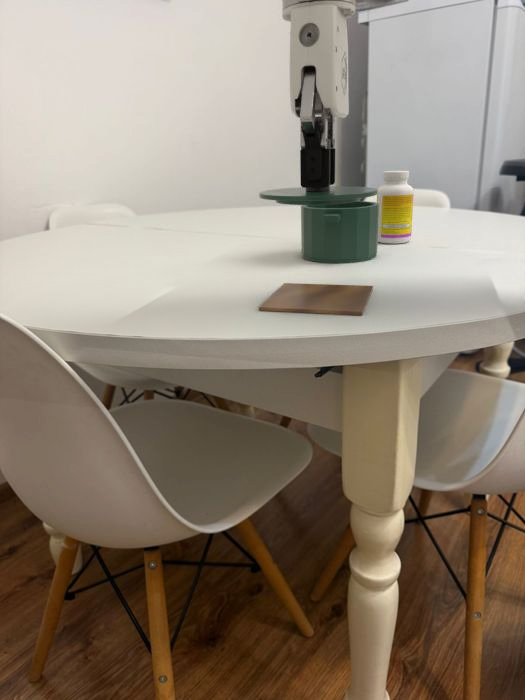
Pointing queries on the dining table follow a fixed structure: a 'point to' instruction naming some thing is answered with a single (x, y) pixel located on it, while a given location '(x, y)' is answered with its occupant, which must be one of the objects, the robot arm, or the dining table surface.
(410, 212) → the supplement bottle
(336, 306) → the plate
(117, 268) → the dining table surface
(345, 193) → the pot lid
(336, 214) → the pot
